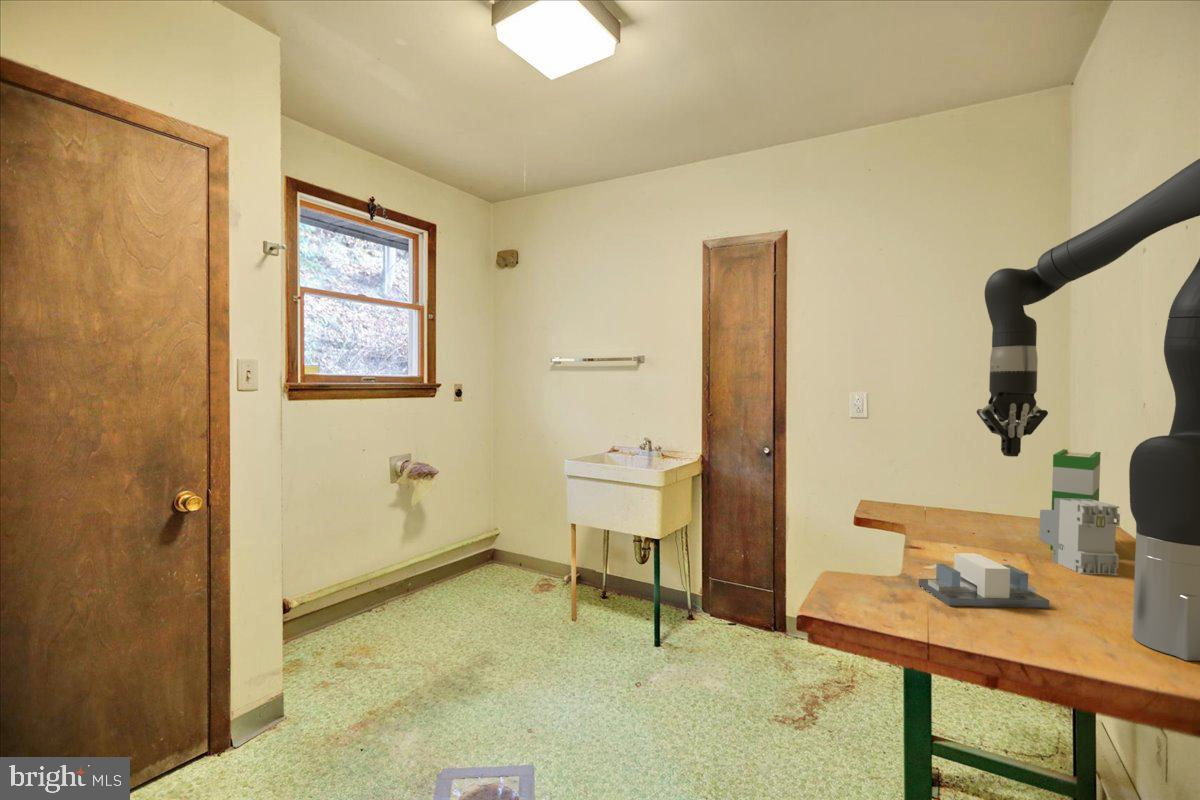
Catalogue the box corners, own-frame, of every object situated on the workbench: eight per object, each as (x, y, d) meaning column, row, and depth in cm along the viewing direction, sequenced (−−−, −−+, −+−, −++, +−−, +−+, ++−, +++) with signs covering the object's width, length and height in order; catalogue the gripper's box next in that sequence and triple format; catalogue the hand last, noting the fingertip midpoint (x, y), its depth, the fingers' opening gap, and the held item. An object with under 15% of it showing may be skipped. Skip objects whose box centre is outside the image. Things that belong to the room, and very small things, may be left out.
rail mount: (1049, 608, 97) (1050, 578, 97) (949, 606, 98) (949, 576, 98) (1009, 587, 107) (1009, 560, 107) (918, 585, 108) (919, 559, 108)
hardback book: (1060, 536, 145) (1063, 449, 144) (1097, 542, 139) (1100, 452, 139) (1050, 550, 133) (1053, 454, 132) (1090, 557, 127) (1093, 457, 127)
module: (1009, 598, 98) (1010, 568, 98) (984, 597, 98) (985, 568, 98) (976, 580, 107) (977, 553, 107) (953, 580, 107) (954, 553, 107)
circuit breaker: (1066, 554, 129) (1068, 493, 129) (1117, 575, 115) (1120, 506, 115) (1033, 553, 130) (1035, 492, 130) (1080, 574, 116) (1082, 505, 115)
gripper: (992, 369, 102) (990, 458, 103) (1062, 369, 102) (1059, 459, 103) (966, 370, 110) (964, 453, 110) (1031, 370, 110) (1029, 454, 110)
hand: (1010, 456), depth 107 cm, fingers closed
